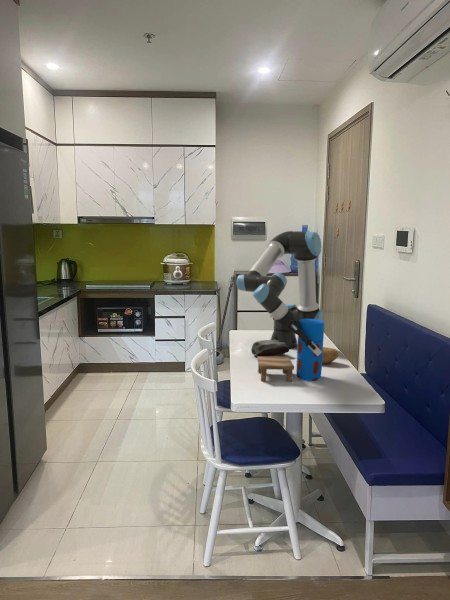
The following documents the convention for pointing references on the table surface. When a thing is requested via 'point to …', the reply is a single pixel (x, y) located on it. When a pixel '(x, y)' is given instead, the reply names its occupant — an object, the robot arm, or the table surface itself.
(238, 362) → the table surface
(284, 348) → the rock
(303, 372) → the thermos
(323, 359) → the potato
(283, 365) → the small wooden stool
